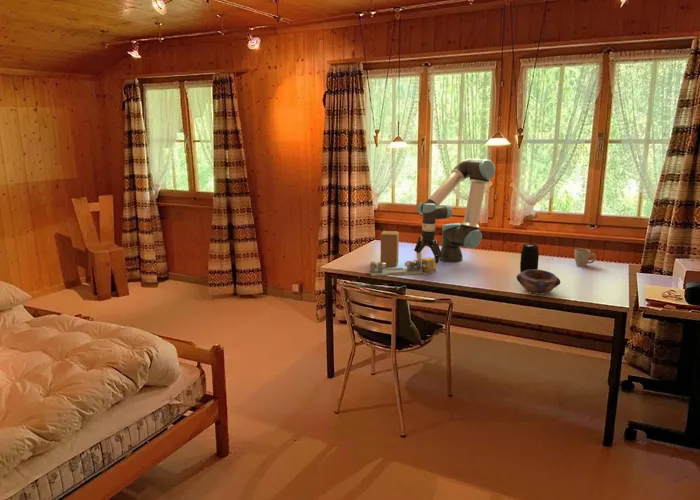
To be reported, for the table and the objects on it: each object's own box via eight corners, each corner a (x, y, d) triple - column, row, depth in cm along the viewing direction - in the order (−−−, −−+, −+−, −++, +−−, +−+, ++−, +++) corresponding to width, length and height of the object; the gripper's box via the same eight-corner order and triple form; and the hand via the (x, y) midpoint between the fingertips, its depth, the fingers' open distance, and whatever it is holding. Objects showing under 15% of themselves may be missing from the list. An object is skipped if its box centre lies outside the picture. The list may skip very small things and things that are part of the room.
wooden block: (396, 266, 317) (397, 234, 313) (380, 266, 319) (380, 234, 315) (398, 262, 327) (398, 231, 322) (382, 261, 329) (382, 230, 324)
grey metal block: (417, 270, 309) (417, 260, 308) (420, 272, 305) (420, 261, 304) (404, 271, 306) (404, 261, 305) (407, 273, 302) (407, 263, 301)
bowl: (537, 299, 255) (538, 280, 253) (511, 289, 271) (512, 271, 269) (564, 294, 263) (565, 275, 260) (537, 285, 279) (538, 267, 276)
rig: (418, 269, 310) (418, 266, 310) (422, 274, 301) (422, 271, 300) (368, 271, 307) (368, 268, 307) (371, 276, 297) (371, 273, 297)
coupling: (431, 269, 310) (431, 256, 308) (437, 271, 306) (437, 258, 304) (420, 272, 305) (420, 259, 303) (426, 274, 301) (426, 260, 299)
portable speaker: (537, 281, 286) (540, 246, 281) (519, 280, 288) (521, 245, 283) (536, 276, 294) (539, 243, 289) (519, 275, 296) (521, 242, 291)
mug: (573, 266, 314) (574, 251, 312) (573, 263, 322) (575, 248, 320) (594, 268, 309) (596, 253, 307) (595, 265, 317) (596, 249, 315)
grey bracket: (385, 272, 305) (385, 262, 304) (385, 274, 301) (385, 264, 300) (371, 271, 307) (371, 261, 305) (370, 273, 302) (370, 263, 301)
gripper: (409, 227, 308) (407, 262, 312) (439, 234, 288) (437, 271, 293) (418, 226, 312) (417, 260, 317) (449, 233, 292) (447, 269, 297)
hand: (427, 266), depth 305 cm, fingers open, 13 cm apart
